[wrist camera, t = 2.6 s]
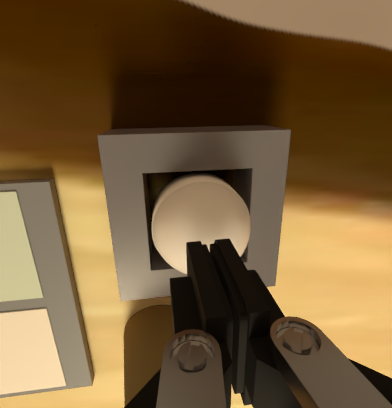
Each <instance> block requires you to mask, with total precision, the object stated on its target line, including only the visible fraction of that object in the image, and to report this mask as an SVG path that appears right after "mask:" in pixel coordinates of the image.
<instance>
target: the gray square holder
mask: <svg viewBox="0 0 392 408" xmlns="http://www.w3.org/2000/svg"><path fill="white" fill-rule="evenodd" d="M290 134H291V130H290V129H284V128H278V127H272V126H267V125H244V126H208V127H171V128H134V129H110V130H108V131H106V132H104V133H102V134H99V135H97V136H98V143H99V150H100V158H101V165H102V172H103V179H104V186H105V193H106V200H107V208H108V215H109V222H110V229H111V236H112V243H113V251H114V258H115V265H116V272H117V279H118V286H119V294H120V301H128V300H138V299H148V298H158V297H168V296H171V294H170V278H176V277H186V276H187V274H185V273H182V272H180V271H178V270H176V269H175V268H173V267H172V266H170V265H169V264H168V263H167V262H166V261H165V260H164V259H163V257H162V256H161V255H160V253H159V252H158V250H157V249H156V247H155V245H154V241H153V240H152V230H151V218H150V206H149V193H148V181H147V173H161V172H182V171H204V170H225V169H233V189H234V190H235V191H236V192H237V193H238V195H239V196H240V197H241V198H242V199H243V201H244V202H245V204H246V206H247V208H248V211H249V215H250V237H249V241H248V244H247V246H246V249H245V251H244V252H243V254H242V255H241V257H240V258H241V259H242V261H243V263H244V265H245V266H246V268H247V270H256V272H257V273H258V274H259V276H260V278H261V279H262V281H263V282H264V284H265V286H266V287H268V286H275V282H276V273H277V263H278V253H279V243H280V233H281V223H282V213H283V203H284V193H285V183H286V173H287V163H288V154H289V144H290Z"/></svg>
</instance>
